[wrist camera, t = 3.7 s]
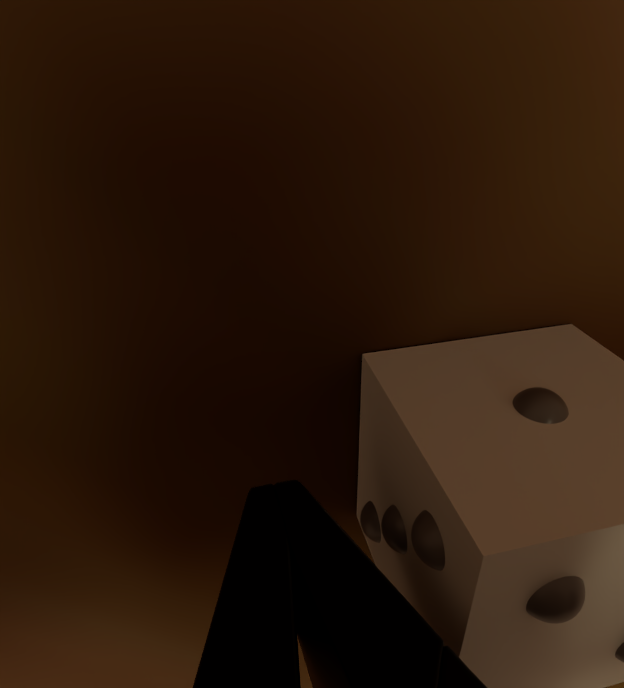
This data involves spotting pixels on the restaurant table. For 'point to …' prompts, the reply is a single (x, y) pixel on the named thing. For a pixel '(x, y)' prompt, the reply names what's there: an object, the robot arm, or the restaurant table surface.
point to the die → (502, 499)
